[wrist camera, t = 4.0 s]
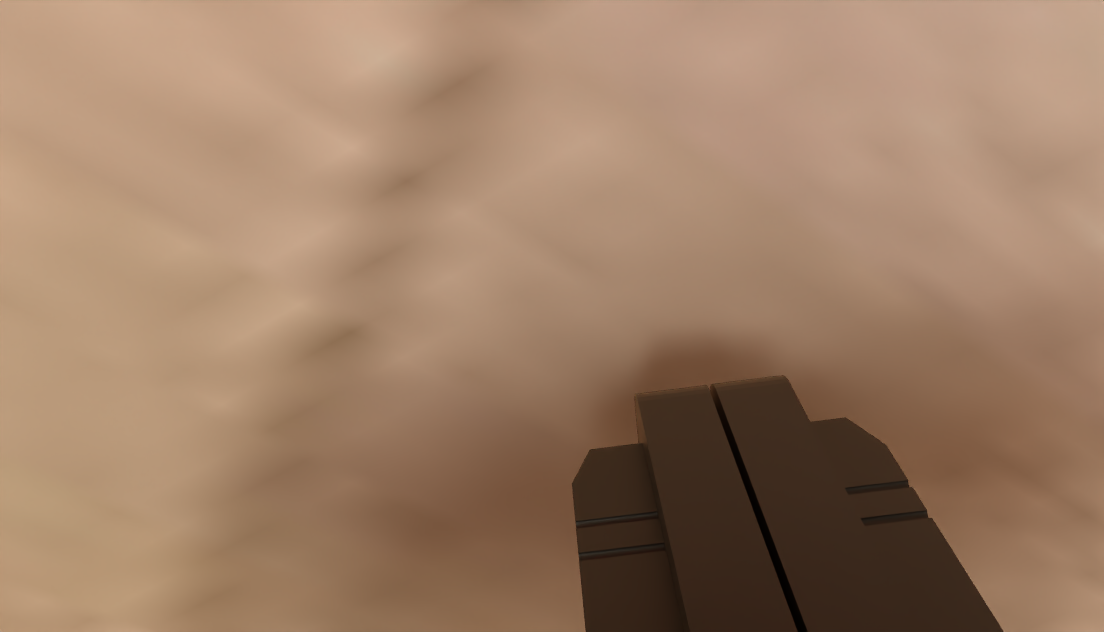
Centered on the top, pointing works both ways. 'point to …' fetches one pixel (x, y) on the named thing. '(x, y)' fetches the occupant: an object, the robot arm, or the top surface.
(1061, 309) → the top surface
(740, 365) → the top surface
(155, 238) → the top surface
